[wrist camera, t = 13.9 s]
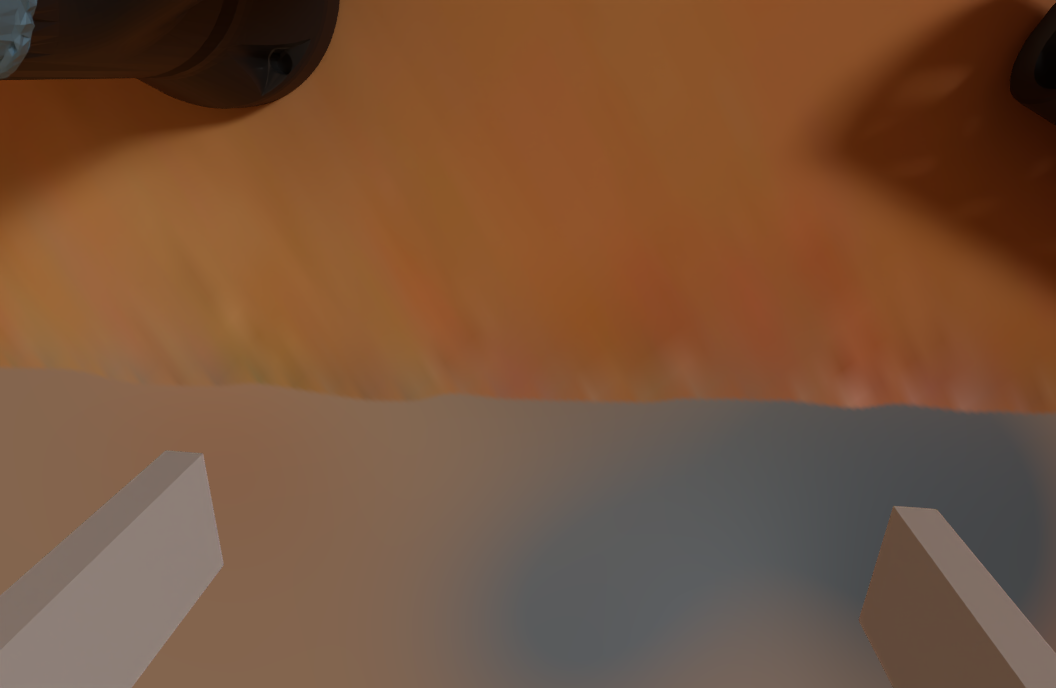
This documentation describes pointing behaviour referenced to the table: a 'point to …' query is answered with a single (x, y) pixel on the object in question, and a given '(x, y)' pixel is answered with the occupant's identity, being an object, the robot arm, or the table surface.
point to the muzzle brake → (1037, 69)
